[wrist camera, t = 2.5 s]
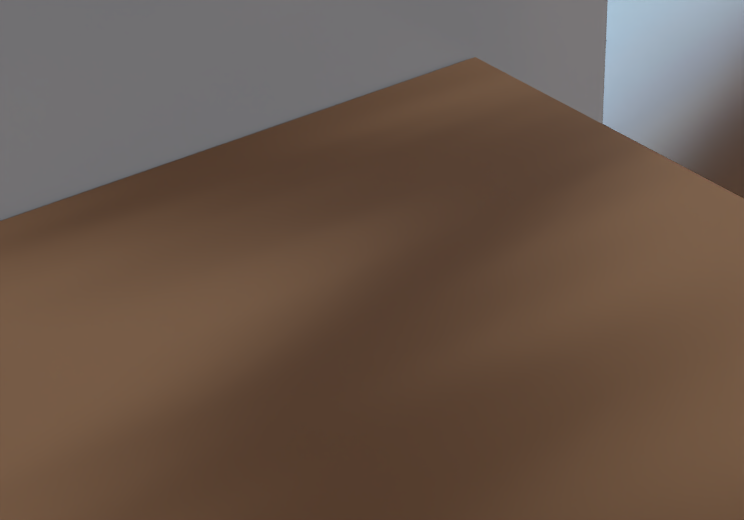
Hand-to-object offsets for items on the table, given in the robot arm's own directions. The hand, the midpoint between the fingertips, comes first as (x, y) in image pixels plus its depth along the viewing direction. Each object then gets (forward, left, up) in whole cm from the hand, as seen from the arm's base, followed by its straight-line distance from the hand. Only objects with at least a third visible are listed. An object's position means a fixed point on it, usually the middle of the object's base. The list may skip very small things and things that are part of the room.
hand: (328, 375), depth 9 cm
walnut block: (0, 0, -1) cm, 1 cm away
